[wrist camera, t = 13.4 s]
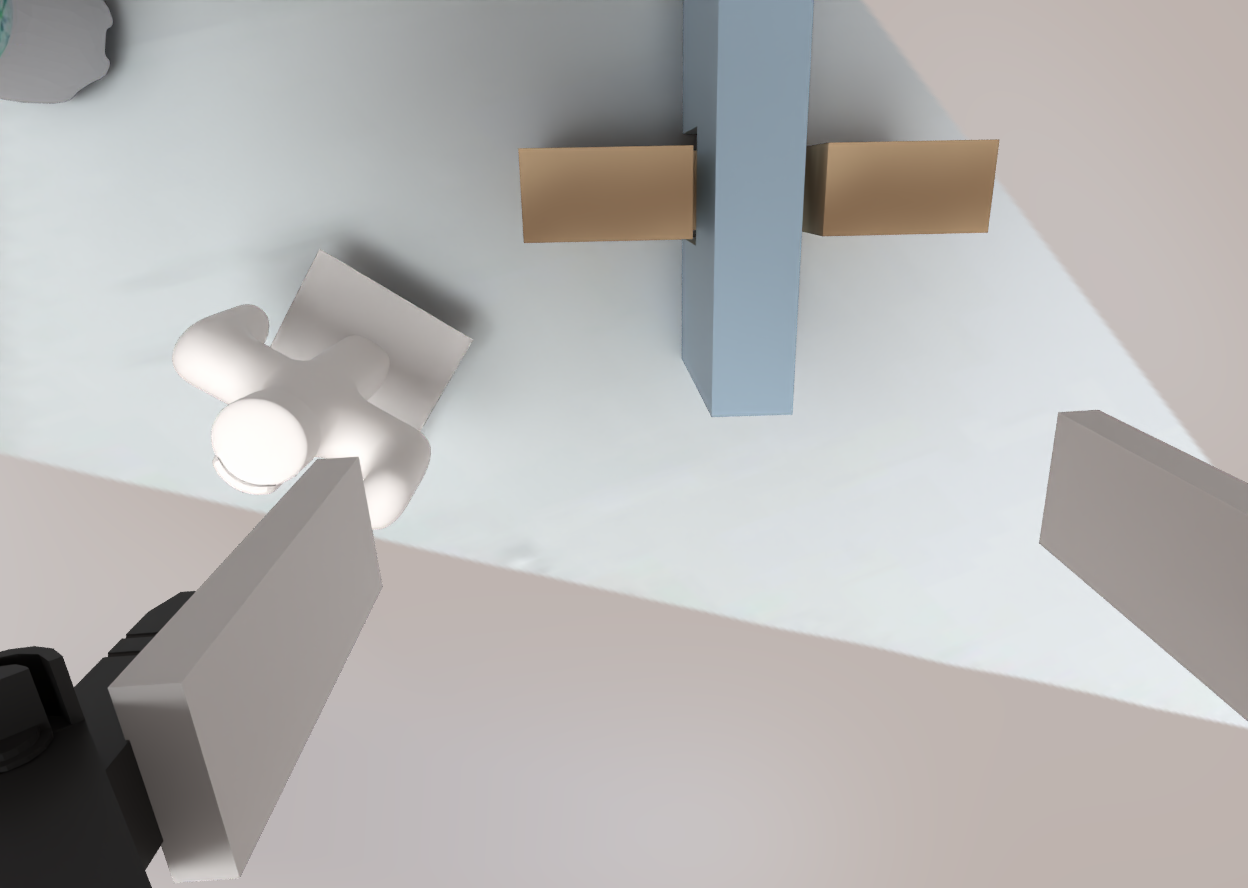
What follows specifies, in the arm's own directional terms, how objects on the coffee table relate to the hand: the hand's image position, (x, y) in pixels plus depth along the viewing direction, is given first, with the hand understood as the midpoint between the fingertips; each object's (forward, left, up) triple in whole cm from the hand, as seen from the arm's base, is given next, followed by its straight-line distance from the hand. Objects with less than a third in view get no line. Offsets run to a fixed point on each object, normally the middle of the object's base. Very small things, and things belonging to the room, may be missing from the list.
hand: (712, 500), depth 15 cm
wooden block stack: (-5, +4, -24) cm, 25 cm away
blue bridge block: (-5, +4, -24) cm, 25 cm away
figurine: (+2, -12, -24) cm, 27 cm away
